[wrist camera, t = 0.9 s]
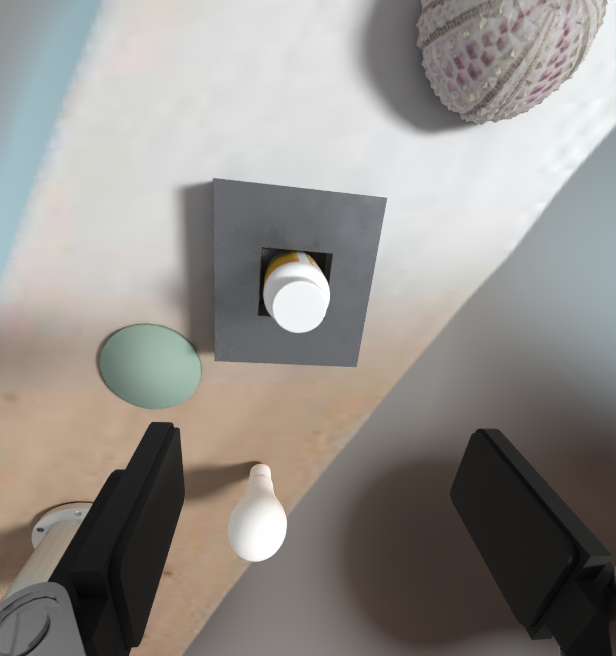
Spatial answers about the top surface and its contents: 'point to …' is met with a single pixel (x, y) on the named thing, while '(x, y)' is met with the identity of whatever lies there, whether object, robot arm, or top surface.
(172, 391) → the pad
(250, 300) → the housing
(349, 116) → the top surface
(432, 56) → the sea urchin shell
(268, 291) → the supplement bottle
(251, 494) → the lightbulb
